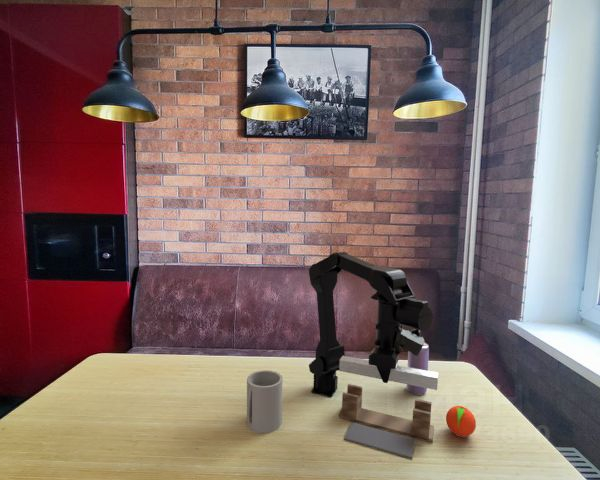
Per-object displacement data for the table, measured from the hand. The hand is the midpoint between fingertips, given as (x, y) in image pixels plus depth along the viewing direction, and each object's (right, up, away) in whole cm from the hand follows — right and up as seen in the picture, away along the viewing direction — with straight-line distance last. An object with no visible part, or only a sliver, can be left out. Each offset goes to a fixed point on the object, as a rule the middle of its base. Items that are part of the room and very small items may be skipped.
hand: (386, 379), depth 91 cm
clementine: (+18, -14, -1) cm, 23 cm away
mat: (-2, -14, -3) cm, 14 cm away
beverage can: (+14, -12, +21) cm, 28 cm away
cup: (-31, -13, +3) cm, 34 cm away
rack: (+1, -13, +4) cm, 13 cm away
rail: (0, +1, 0) cm, 1 cm away
